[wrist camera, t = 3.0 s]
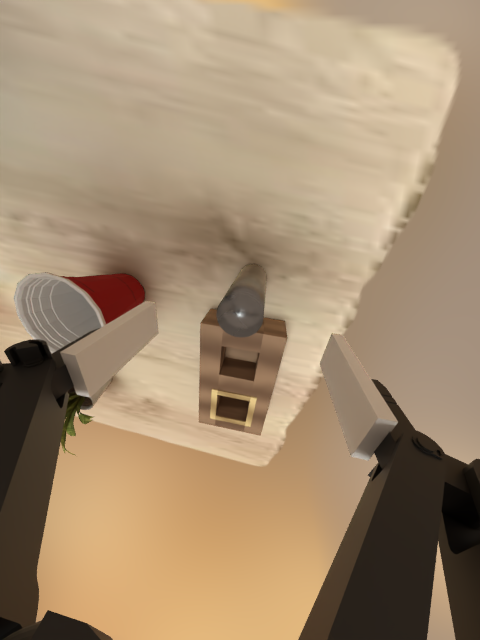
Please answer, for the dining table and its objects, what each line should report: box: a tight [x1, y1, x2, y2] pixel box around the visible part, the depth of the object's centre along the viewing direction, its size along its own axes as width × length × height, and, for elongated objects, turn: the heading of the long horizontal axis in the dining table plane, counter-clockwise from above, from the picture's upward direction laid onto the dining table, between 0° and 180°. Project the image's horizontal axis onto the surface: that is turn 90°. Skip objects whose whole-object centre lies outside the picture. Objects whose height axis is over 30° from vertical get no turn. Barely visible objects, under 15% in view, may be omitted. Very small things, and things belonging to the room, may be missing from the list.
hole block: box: [199, 309, 287, 435], centre depth 33 cm, size 22×12×5 cm, turn 174°
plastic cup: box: [14, 272, 145, 353], centre depth 26 cm, size 11×11×12 cm
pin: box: [216, 264, 267, 337], centre depth 22 cm, size 4×4×13 cm
